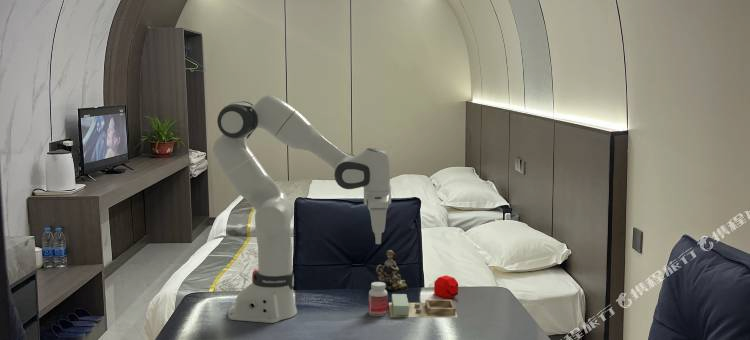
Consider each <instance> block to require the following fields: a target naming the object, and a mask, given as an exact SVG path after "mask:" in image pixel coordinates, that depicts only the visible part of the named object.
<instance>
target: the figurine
mask: <svg viewBox="0 0 750 340" xmlns="http://www.w3.org/2000/svg"><path fill="white" fill-rule="evenodd" d="M385 255H386V256H387V258H388V259H387V260H385V262H384V264H383V265H382V264H378V265H377V267H376V269H375V272H376V275H377V276H376V277H377V278H378V281H377V282H383V283H385V286H386V287H385V290H386V291H391V292H393V291H394V292H395V291H409V289H408V287H409V285H408V284H407V283H406V280H405V279H402V276H401V274H400V273H398V272H399V271H400V269H399V267H398V266H397V263H396V259H397V255H396V253H395V252H394V251H393V250H392V249H389V250H387V251H386V252H385Z"/></svg>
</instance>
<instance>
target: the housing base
mask: <svg viewBox="0 0 750 340" xmlns="http://www.w3.org/2000/svg"><path fill="white" fill-rule="evenodd" d="M424 300H425V302H408V304H409V315H393V305H392V302H388V308H389V309H388V310H389V314H390V315H389V316H390V318H458V317H459V316H458V314H457V310H456V306H455V304H454V301H453V299H424Z"/></svg>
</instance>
